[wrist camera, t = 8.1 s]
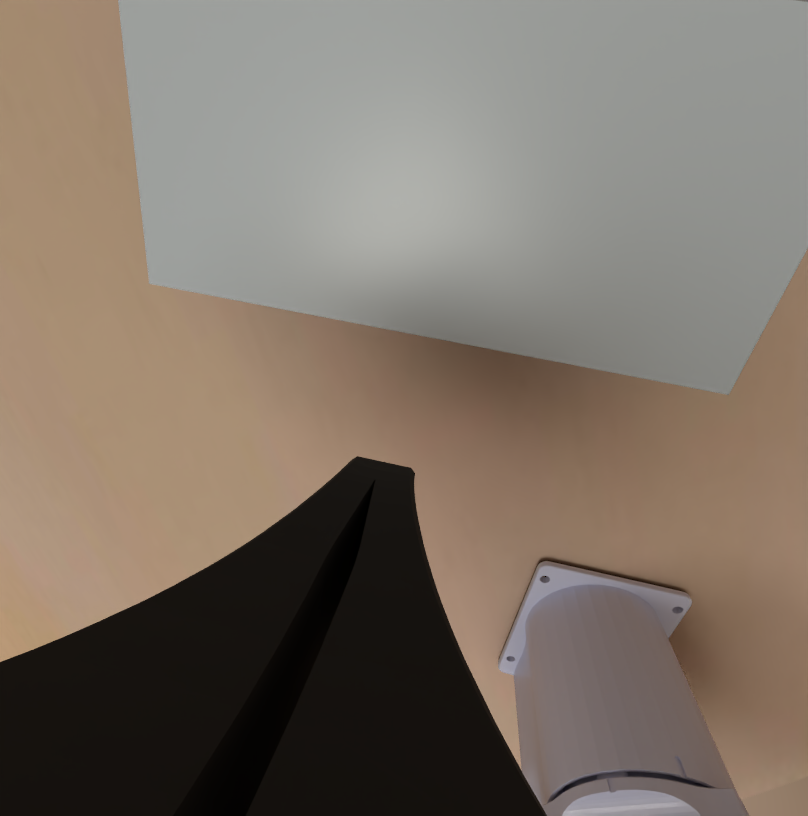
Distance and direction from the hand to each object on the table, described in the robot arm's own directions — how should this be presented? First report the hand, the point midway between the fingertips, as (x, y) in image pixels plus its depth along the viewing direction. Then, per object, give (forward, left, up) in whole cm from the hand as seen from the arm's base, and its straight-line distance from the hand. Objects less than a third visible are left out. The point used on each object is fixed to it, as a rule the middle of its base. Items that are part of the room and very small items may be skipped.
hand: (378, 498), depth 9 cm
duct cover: (+7, 0, -7) cm, 10 cm away
